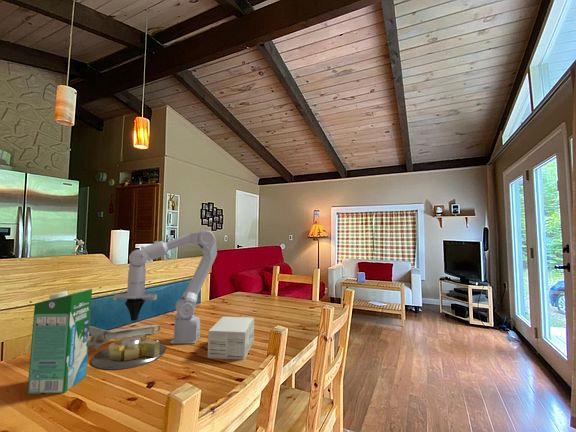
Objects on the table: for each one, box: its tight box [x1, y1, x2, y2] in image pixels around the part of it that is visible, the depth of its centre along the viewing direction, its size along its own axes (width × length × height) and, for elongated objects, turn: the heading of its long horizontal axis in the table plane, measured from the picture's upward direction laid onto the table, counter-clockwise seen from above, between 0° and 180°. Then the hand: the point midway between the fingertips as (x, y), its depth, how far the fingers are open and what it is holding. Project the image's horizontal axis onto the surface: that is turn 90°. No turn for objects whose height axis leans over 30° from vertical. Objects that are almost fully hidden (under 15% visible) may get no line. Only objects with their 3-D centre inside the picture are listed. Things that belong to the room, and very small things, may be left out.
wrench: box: [88, 324, 162, 350], centre depth 108 cm, size 8×2×30 cm
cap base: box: [90, 336, 166, 371], centre depth 96 cm, size 22×22×5 cm
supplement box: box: [207, 316, 255, 360], centre depth 102 cm, size 17×13×9 cm
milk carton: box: [26, 288, 93, 395], centre depth 77 cm, size 9×9×25 cm
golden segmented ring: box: [108, 334, 161, 361], centre depth 95 cm, size 13×17×4 cm
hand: (134, 319), depth 102 cm, fingers closed
